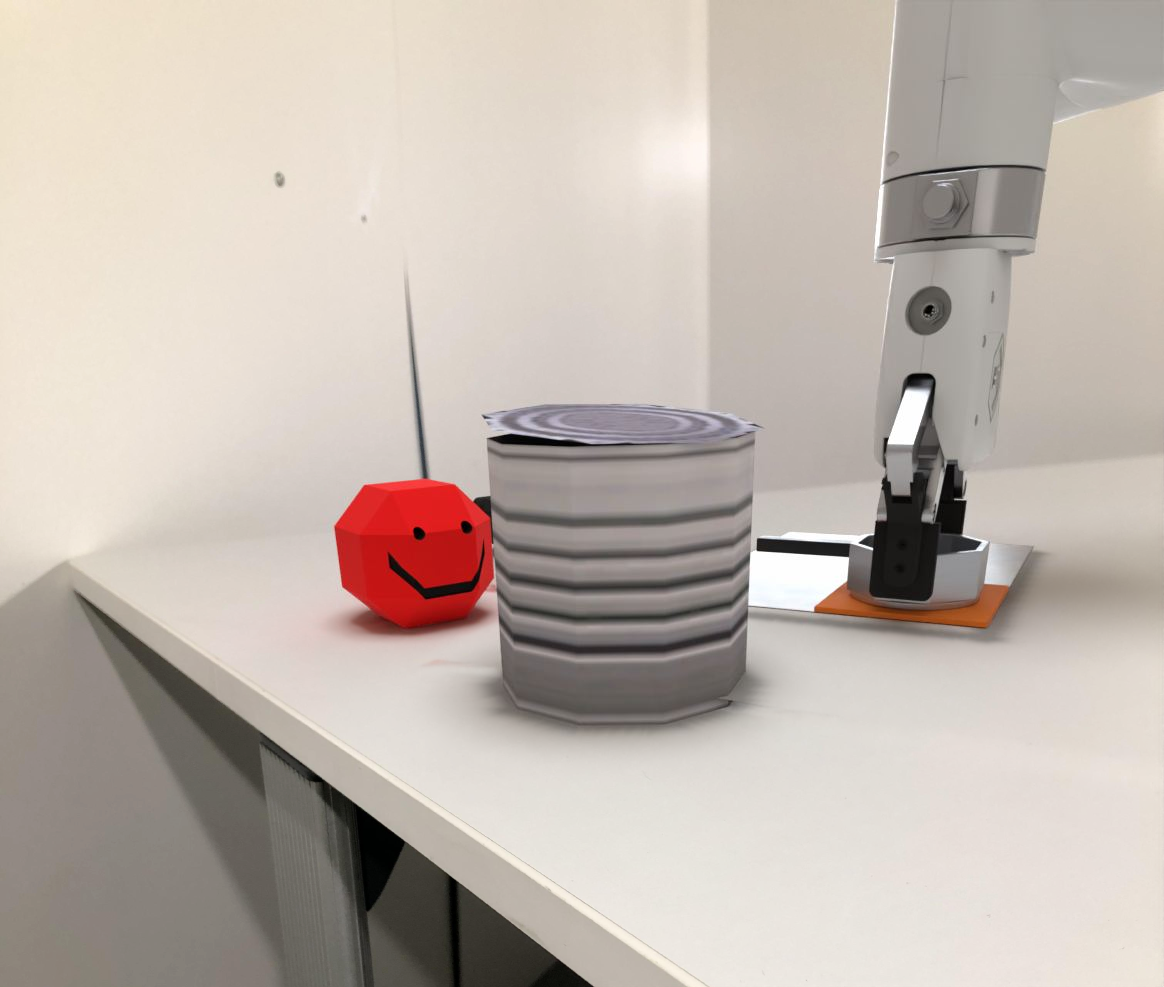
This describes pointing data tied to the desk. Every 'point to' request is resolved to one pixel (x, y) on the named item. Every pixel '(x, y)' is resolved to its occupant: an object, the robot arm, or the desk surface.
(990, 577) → the board
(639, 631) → the can
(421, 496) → the ball
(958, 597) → the pan
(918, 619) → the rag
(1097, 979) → the desk surface
